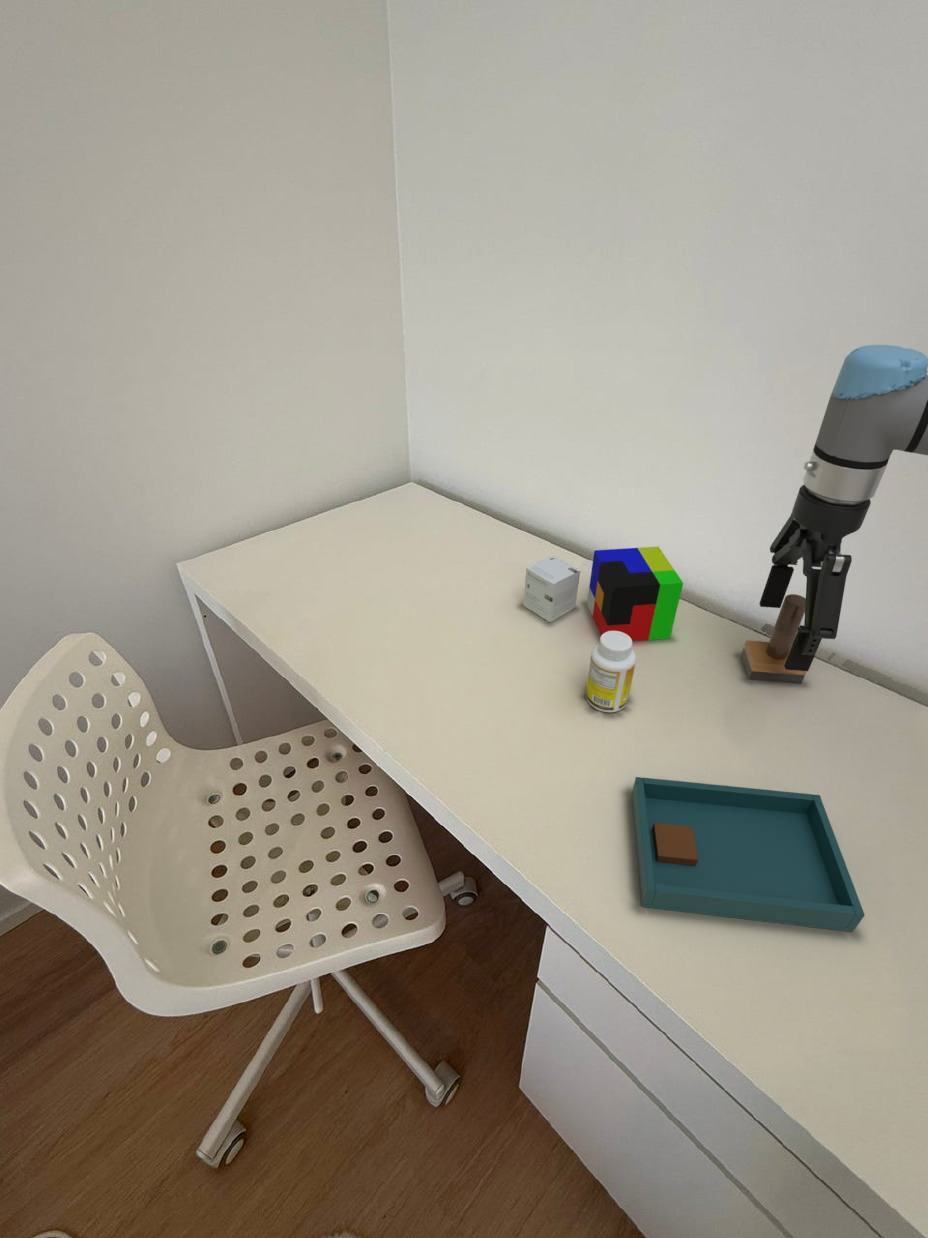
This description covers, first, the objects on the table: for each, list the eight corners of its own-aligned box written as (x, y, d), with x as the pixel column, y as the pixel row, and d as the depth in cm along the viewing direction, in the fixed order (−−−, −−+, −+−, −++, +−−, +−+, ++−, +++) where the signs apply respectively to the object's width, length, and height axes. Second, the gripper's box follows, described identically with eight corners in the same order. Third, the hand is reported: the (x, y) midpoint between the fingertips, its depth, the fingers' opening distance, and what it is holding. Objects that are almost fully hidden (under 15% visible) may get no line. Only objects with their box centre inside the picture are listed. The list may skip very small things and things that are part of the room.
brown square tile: (690, 833, 69) (692, 826, 68) (696, 866, 66) (698, 860, 65) (651, 829, 70) (653, 822, 69) (656, 862, 66) (658, 855, 66)
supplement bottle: (618, 683, 89) (629, 624, 83) (633, 711, 84) (646, 651, 78) (579, 687, 88) (587, 628, 82) (592, 717, 84) (602, 657, 77)
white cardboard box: (522, 606, 103) (524, 567, 99) (548, 592, 106) (552, 553, 102) (550, 623, 99) (554, 584, 95) (576, 608, 103) (581, 569, 98)
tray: (810, 812, 72) (819, 794, 70) (852, 932, 61) (865, 915, 59) (631, 794, 74) (635, 776, 72) (642, 907, 63) (647, 890, 61)
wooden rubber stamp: (791, 659, 93) (819, 591, 85) (801, 683, 89) (831, 613, 81) (740, 656, 93) (764, 587, 86) (748, 679, 89) (773, 609, 82)
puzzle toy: (586, 604, 104) (594, 550, 98) (647, 599, 104) (658, 546, 98) (604, 643, 96) (613, 587, 90) (669, 638, 96) (683, 582, 90)
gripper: (774, 447, 85) (734, 582, 97) (837, 544, 65) (776, 697, 78) (835, 450, 84) (786, 585, 97) (916, 548, 64) (842, 702, 77)
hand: (781, 635), depth 87 cm, fingers open, 13 cm apart
